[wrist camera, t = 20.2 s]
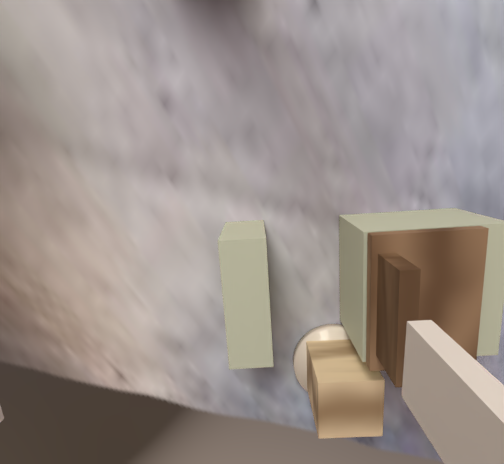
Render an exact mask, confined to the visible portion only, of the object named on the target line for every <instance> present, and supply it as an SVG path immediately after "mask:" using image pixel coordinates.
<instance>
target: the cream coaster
mask: <svg viewBox="0 0 504 464" xmlns="http://www.w3.org/2000/svg"><path fill="white" fill-rule="evenodd" d="M346 339H350V338H349V336H348V334H347V332H346V330H345V328H344V326H343V325H341V324H326V325H322V326H319V327H316V328H314V329H312V330H310V331H309V332H308V333H306V334H305V335H304V336H303V337H302V338H301V339H300V341H299V342H298V344H297V346H296V348H295V351H294V355H293V365H294V370H295V375H296V378H297V380H298V382H299V383H300V385H301V386H302V387H303V388H304V389H305V390H306V391H307V392H308V390H307V355H306V341H323V340H346Z"/></svg>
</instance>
